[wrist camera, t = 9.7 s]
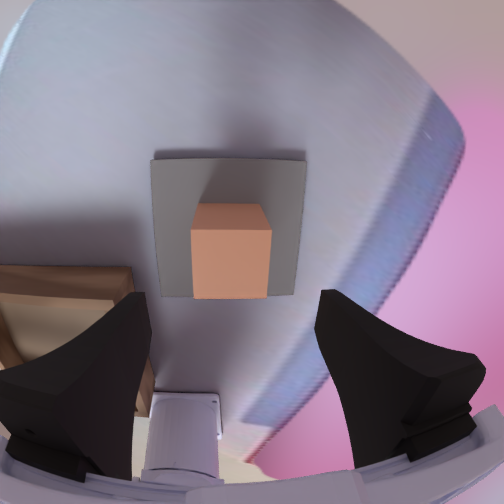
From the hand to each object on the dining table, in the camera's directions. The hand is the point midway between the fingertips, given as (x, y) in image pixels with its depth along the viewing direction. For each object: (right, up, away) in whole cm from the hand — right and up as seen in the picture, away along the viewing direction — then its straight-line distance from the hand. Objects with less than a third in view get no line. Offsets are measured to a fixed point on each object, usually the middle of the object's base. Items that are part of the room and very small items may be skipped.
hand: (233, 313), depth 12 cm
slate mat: (-1, +4, +8) cm, 9 cm away
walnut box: (-16, -4, +11) cm, 20 cm away
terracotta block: (-1, +4, +8) cm, 9 cm away
